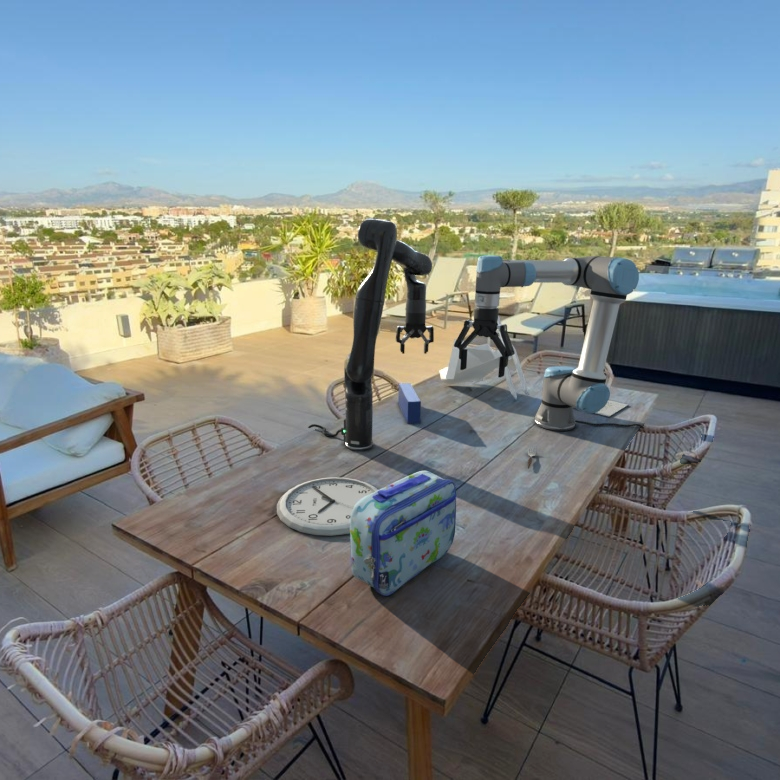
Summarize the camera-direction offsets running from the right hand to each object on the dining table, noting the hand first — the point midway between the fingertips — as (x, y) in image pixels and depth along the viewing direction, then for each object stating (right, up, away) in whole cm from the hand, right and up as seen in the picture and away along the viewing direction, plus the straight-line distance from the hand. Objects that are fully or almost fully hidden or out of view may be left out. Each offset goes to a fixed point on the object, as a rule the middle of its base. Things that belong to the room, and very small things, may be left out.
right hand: (481, 372), depth 169 cm
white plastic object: (+12, -7, +74) cm, 76 cm away
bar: (-22, -15, +46) cm, 53 cm away
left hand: (-20, +8, +30) cm, 37 cm away
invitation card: (+62, -13, +57) cm, 85 cm away
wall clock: (-45, -37, -26) cm, 64 cm away
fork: (+17, -29, +4) cm, 34 cm away
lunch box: (-27, -46, -52) cm, 74 cm away
